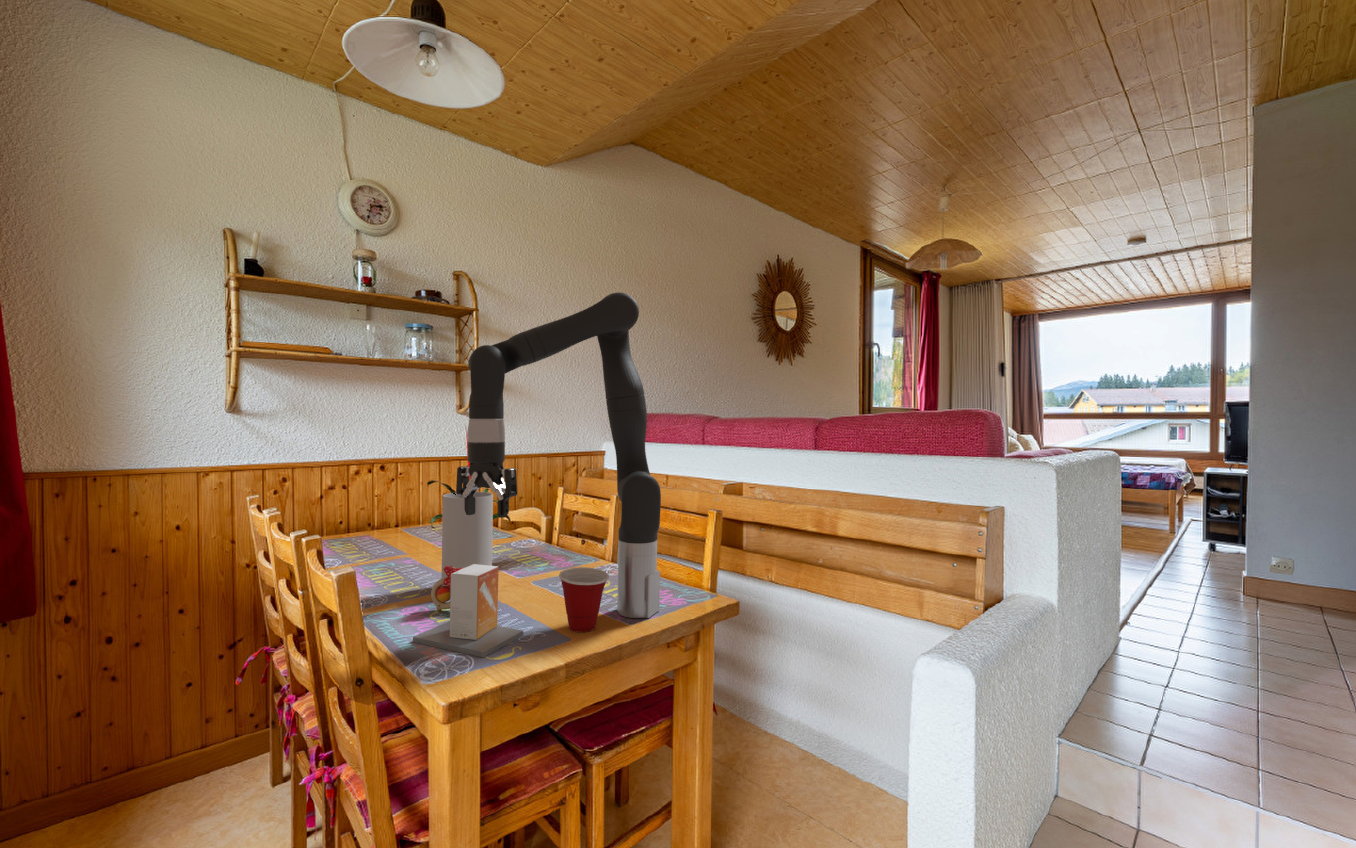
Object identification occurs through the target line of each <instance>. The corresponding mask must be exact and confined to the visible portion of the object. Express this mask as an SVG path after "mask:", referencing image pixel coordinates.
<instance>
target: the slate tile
mask: <svg viewBox="0 0 1356 848" xmlns="http://www.w3.org/2000/svg"><path fill="white" fill-rule="evenodd" d="M524 632H525V631H524V630H522V629H516V628H511V627H506V626H501V625H497V627H496V628H494V629H492V630H491V631H489V632H487V633H486V634H484V635H483V636H481V637H480V638H478V639H477V640H471V639H461V638H453V637H450V620H449V621H447V622H446V621H445V622H444V623H442V624H439V625H437V626H434V627H432V628H431V629H428V630H425V631H424V632H421V633H419V634H416V635H414V636H412V643H416V644H420V645H421V644H422V645H427V646H430V647H434V648H439V649H444V650H448V651H452V652H456V653H462V654H466V655H470V656H475V657H479V658H485V657H486V656H489V655H490V654H493V653H494V652H496V651H498V650H500V649H501V648H503V647H505V646H507V645H508V644H510V643H513V642H514V641H516V640H518V639H520V638H521V637H523V636H524Z"/></svg>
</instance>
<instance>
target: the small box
mask: <svg viewBox="0 0 1356 848" xmlns="http://www.w3.org/2000/svg"><path fill="white" fill-rule="evenodd" d="M499 571H500V570H499V566H498V565H492V566H489V565H478V564H473V565H471V566H468V567H466V568H463V569H460V570H459V571H456V572H454V573H452V574H451V594H450V600H449V602H450V608H449V621H450V637H453V638H461V639H471V640H477V639H478V638H480V637H481V636H483V635H484V634H486V633H487V632H489V631H491V630H492V629H494V628H496V627H497V626H498V613H499V612H498V611H499V610H498V607H499V573H500V572H499Z"/></svg>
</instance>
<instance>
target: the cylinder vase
mask: <svg viewBox="0 0 1356 848" xmlns="http://www.w3.org/2000/svg"><path fill="white" fill-rule="evenodd" d="M453 493H455V494H456V495H455V494H453ZM474 497H475V514H473V515H466V512H465V510H464V508H465V499H464V497H463V495H461V494H457V493H456V492H449V493H444V494H443V495H442V515H441V516H442V517H441V518H442V521H441V522H442V523H441V524H442V529H441V530H442V531H441V532H442V533H441V534H442V535H441V579H442V578H446V577H448V576H447V575H446V573H445V571H444V570H443V568H444V567H445V566H448V567H449V566H452V567H454V568H457V569H459V568H466V567H468V566H471V565H473V564H478V565H489V566H493V525H494V524H493V523H494V522H493V518H494V517H493V516H494V512H493V510H494V493H493V492H486V491H477V492H476V494H475V495H474ZM442 586H448V585H442ZM450 588H451V587H450Z"/></svg>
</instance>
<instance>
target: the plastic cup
mask: <svg viewBox="0 0 1356 848" xmlns="http://www.w3.org/2000/svg"><path fill="white" fill-rule="evenodd" d="M558 578H559V579H560V582H561V586H562V590H563V599H564V605H565V614H566V617H567V623H568V628H569V630H570V631H572V632H574V633H587V632H591V631H594V630H595V629H596V626H597V621H598V617H599V613H600V609H601V608H600V607H601V603H602V598H603V597H602V596H603V593H604V590H605V589H604V588H605V585H606V583H607V581H608V580H609V578H610V575H609V573H608V572H606V571H604V570H601V569H599V568H593V567H583V566H581V567H570V568H565V569H563V570H561V571H560V572H559V574H558Z"/></svg>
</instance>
